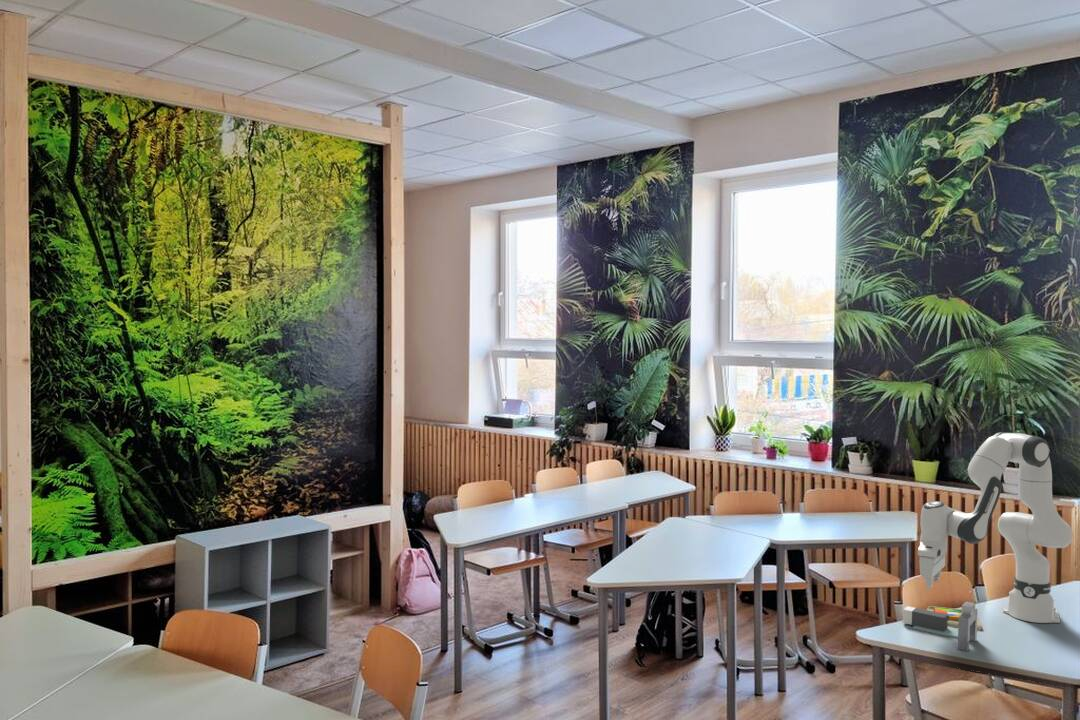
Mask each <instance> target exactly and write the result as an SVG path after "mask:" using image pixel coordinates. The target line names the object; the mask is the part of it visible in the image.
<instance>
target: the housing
mask: <svg viewBox="0 0 1080 720" xmlns="http://www.w3.org/2000/svg"><path fill="white" fill-rule="evenodd" d="M961 610H962V614H961V615H960V616H959V623H958V628H957V629H958V638H957V650H958V651H964V652H968V651H969V650H970V642H974V643H975V642H976V641H977V635H978V633H977V632H978V631H977V617H978V608H976V603H975V602H972V601H971V602H970V601H965V602H964V603H962V605H961Z"/></svg>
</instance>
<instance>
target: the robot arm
mask: <svg viewBox="0 0 1080 720" xmlns="http://www.w3.org/2000/svg"><path fill="white" fill-rule="evenodd" d="M1050 452H1051V448H1050V446H1049V443H1048V441H1046V439H1044V438H1042V437H1040V436H1036V435H1030V434H1026V433H1021V432H1018V433H1017V432H1016V433H1015V432H1007V431H1002V432H1001V431H999V432H996V433H994V434H993V435H992V436H989V437H988V438H986V440H984V442H983V443H981V445H980V446H979V448H978V449H977V451H976V452H975V453H974V455H973V457H972V458H971V460H970V462H969V464H968V467H967V475H968V477H969V478H970V480H971V481H972V482H973V483H974V484H975V485H976V486H978V488H980V495H979V497H978V500H977V503H976V505H975V507H974V510H973V511H972V512H970V513H967V512H964V511H960V510H958V509H955V508H952V507H949V506H947V505H946V504H945V502H943V501H936V500H935V501H928V502H926V503H924V504H923V505H922V507H921V511H920V524H919V525H920V529H921V531H920V536H919V537H920V538H919V547H918V549H917V555H918V556H919V562H918V563H919V574H920V577H921V578H923V579H924V580H925V584H926V585H925V587H926V588H927V589H932V588H933V586H934V584H933V582H936V583H938V582H939V581H940V576H941V573H942V572H941V571H942V569H944V567H945V566H946V555H947V553H948V538H947V537H948V536H951V537H952V538H956V539H958V540H962V541H964V542H966V543H968V544H971V545H974V544H975V545H976V544H979V543H980V542H982V541H983V540H984V539H985V538H986V537H987V535H988V530H989V525H990V522H991V519H992V516H993V514H994V512H995V509H996V506H997V504H998V501H999V499H1000V496H1001V493H1002V489H1003V484H1002V481H1001V478H1002V475H1003V473H1004V471H1005V470H1006V468H1007V466H1008V465H1009V462H1010V463H1015V464H1018V465H1019V466H1018V479H1017V480H1018V481H1017V484H1018V485H1017V488H1018V489H1017V496H1018V499H1019V501H1020V502H1021V503H1022V504H1024V505H1025V506H1026V507H1028V508H1029V509H1030V511H1031V513H1025V512H1019V511H1015V512H1014V511H1012V512H1011V511H1008V512H1007V511H1006V512H1003V513H1002V514H1001V515H1000V516H999V518H998V521H997V530H998V531H999V533H1000V535H1001V536H1002V537H1003V538H1004V539H1005V540H1006V541H1007V542H1008V544H1009V545H1010V547H1011V549H1012V551H1013V555H1014V559H1015V577H1014V580H1013V589H1012V590H1010V591H1009V592H1008V595H1009V596H1008V603H1007V604H1008V605H1007V607H1005V608H1003V609H1002V612H1003V613H1005V614H1007V615H1009V616H1011V617H1013V618H1014V619H1018V620H1022V621H1025V622H1031V623H1039V624H1048V623H1050V624H1051V623H1052V624H1053V623H1055V624H1057V623H1061V620H1060V616H1059V613H1058V610H1057V608H1056V607H1054V606H1055V600H1054V598H1053V596H1052V595H1051V588H1052V587H1051V582H1050V571H1051V570H1050V569H1051V564H1050V561H1049V560H1048V558H1047V557H1046V556H1045V555H1043V554H1042V553H1040V552H1039V551H1038V549H1037V547H1036V546H1040V547H1045V548H1048V549H1065V548H1066V547H1068V546H1069V545H1070V544H1071V542H1072V541H1073V537H1074V535H1073V530H1072V527H1071V526H1070V525H1069V523H1067V521H1065V520H1064V519H1063V518H1062V516H1061V515H1060V513H1058V511H1057V509H1056V507H1055V504H1054V501H1053V472H1052V471H1053V470H1052V469H1053V468H1052V462H1051V459H1050V456H1051V455H1050V454H1051V453H1050Z"/></svg>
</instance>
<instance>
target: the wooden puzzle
mask: <svg viewBox="0 0 1080 720" xmlns="http://www.w3.org/2000/svg"><path fill="white" fill-rule="evenodd" d="M926 610H929V611H933V612H938V613H943V614H948V627H953V628H957V629H958V623H959V616H960V615H961V614H962V608H952V607H945V606H943V607H942V606H934V605H929V606H928V607H927V608H926ZM982 625H983V624H982V623H981V621H980V620H979V617H978V616H977V630H979V631H981V630H982V628H983V626H982ZM979 631H978V632H979Z"/></svg>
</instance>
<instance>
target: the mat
mask: <svg viewBox="0 0 1080 720" xmlns="http://www.w3.org/2000/svg"><path fill="white" fill-rule="evenodd" d="M912 629H914V630H919V631H923V632H928V633H930V634H931V633H932V634H937V635H942V636H945V637H950V638H955V639H958V628H954V627H948V628H947V629H946V630H945V631H944V632H943V631H938V630H933V629H929V628H924V627H920V626H915V625H912Z"/></svg>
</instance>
